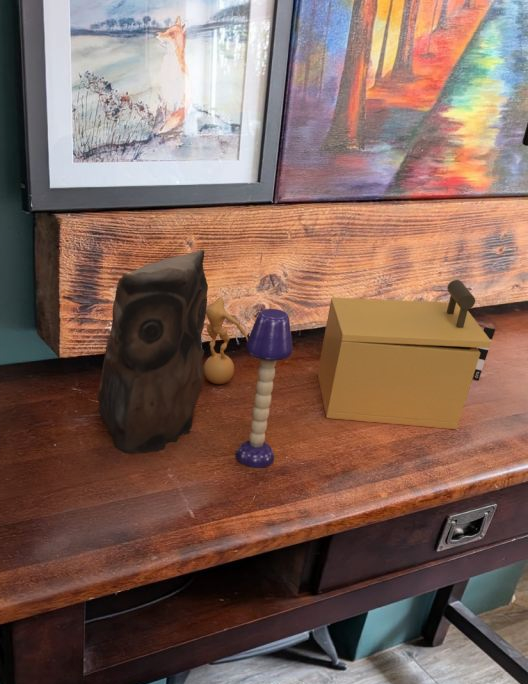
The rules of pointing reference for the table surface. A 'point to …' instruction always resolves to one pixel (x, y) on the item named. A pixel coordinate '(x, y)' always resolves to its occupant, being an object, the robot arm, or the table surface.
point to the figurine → (221, 365)
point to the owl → (155, 354)
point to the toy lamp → (265, 381)
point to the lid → (411, 320)
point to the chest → (394, 380)
